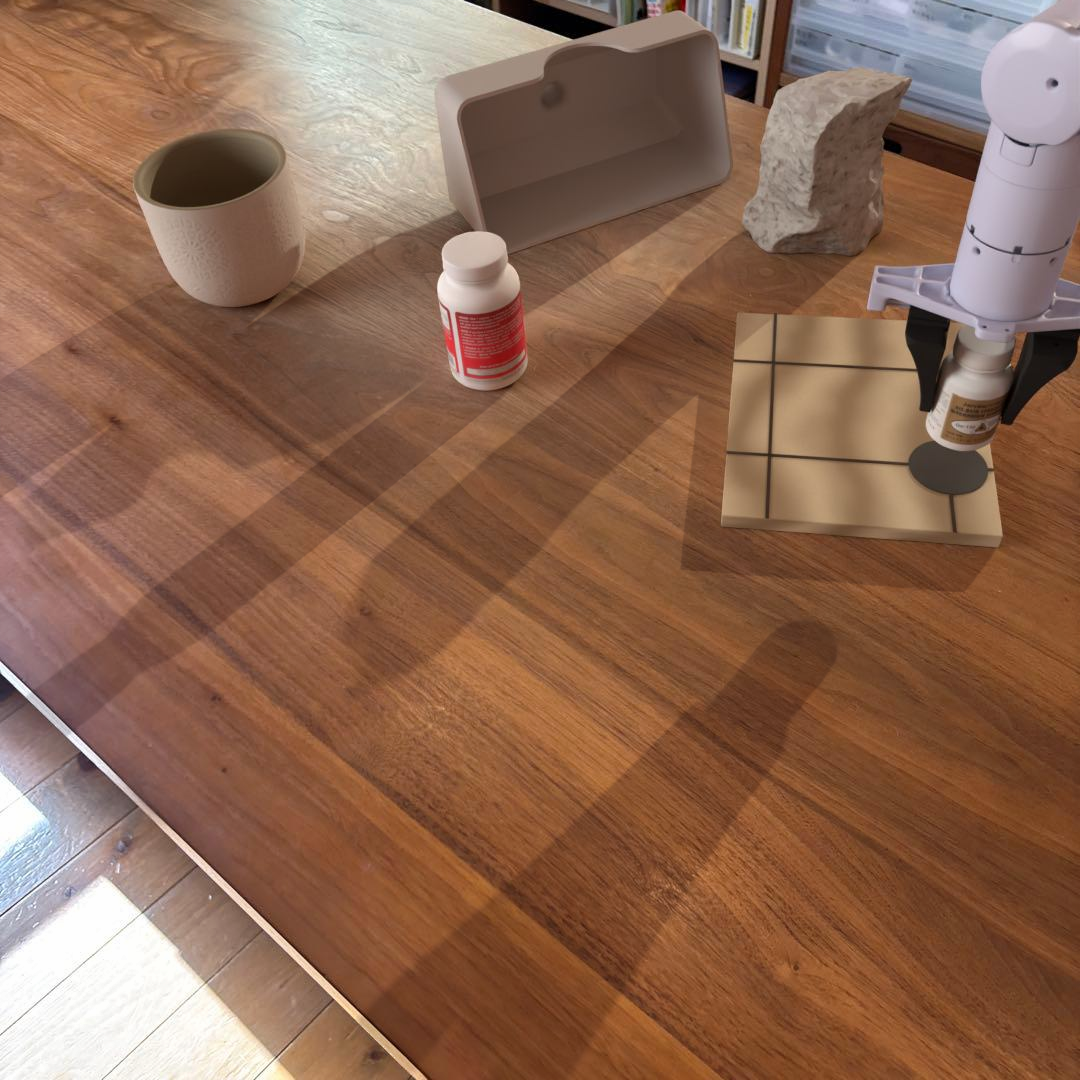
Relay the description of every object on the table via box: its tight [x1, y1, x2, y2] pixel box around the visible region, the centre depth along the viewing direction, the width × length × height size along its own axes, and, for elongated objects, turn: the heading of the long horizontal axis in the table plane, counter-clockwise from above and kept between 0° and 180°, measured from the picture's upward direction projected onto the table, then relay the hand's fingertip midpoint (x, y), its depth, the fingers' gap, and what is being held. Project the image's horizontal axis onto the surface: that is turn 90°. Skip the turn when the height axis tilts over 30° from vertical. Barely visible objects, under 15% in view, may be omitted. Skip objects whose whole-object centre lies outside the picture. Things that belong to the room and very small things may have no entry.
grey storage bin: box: [434, 10, 734, 255], centre depth 101 cm, size 25×16×12 cm, turn 115°
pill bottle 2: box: [926, 325, 1017, 451], centre depth 70 cm, size 4×4×8 cm
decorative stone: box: [741, 66, 913, 257], centre depth 91 cm, size 10×9×15 cm
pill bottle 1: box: [436, 231, 528, 392], centre depth 84 cm, size 6×6×11 cm
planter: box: [132, 128, 306, 308], centre depth 94 cm, size 12×12×11 cm
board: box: [720, 312, 1004, 549], centre depth 80 cm, size 18×22×1 cm
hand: (965, 408), depth 72 cm, fingers closed on pill bottle 2, 4 cm apart
